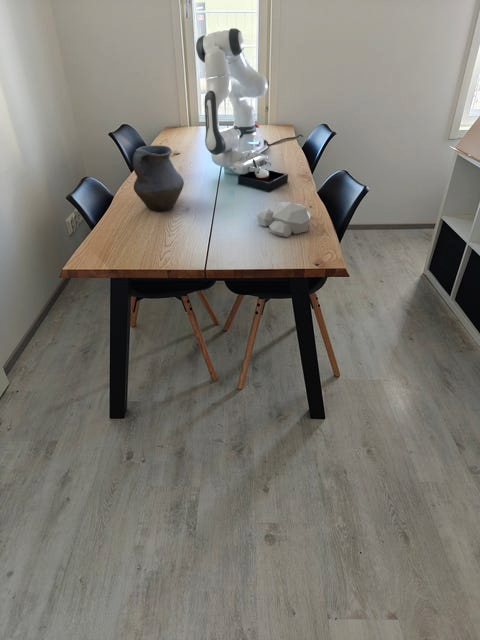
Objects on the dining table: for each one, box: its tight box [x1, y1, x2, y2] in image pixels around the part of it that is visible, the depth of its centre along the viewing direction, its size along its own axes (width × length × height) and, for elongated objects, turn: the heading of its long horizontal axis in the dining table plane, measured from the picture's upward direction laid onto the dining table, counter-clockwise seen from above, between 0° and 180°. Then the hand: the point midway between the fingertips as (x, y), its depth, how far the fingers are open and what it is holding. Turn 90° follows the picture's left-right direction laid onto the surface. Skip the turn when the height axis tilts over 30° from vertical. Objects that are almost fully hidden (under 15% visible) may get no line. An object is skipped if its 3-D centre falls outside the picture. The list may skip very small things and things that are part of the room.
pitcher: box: [132, 145, 185, 212], centre depth 176 cm, size 21×22×25 cm
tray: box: [237, 167, 289, 193], centre depth 205 cm, size 16×18×4 cm
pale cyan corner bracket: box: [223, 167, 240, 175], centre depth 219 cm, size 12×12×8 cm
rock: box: [256, 200, 311, 238], centre depth 165 cm, size 18×20×10 cm
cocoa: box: [252, 159, 270, 182], centre depth 201 cm, size 10×6×12 cm, turn 102°
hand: (264, 167), depth 201 cm, fingers open, 8 cm apart
